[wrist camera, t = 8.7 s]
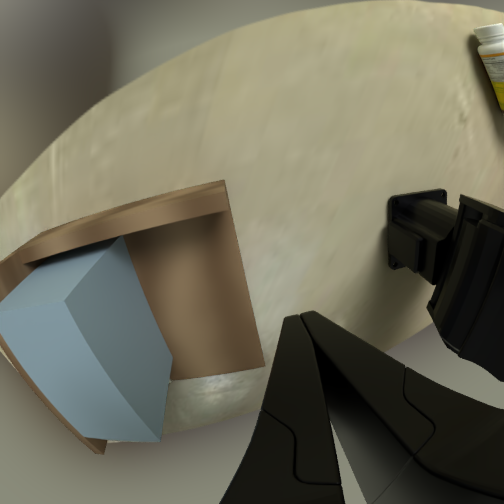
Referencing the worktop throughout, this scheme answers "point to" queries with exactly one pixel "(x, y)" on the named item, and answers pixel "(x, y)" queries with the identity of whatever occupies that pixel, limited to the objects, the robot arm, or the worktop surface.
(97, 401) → the light blue block
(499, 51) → the supplement bottle
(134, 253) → the shelf
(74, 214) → the worktop surface
